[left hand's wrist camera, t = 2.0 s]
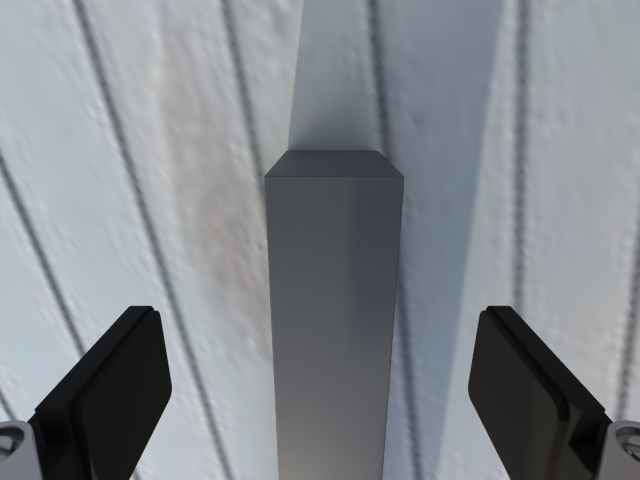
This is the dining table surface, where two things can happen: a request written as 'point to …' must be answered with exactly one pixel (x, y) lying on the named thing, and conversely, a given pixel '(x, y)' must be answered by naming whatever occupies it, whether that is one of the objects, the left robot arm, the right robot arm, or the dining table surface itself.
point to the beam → (332, 309)
